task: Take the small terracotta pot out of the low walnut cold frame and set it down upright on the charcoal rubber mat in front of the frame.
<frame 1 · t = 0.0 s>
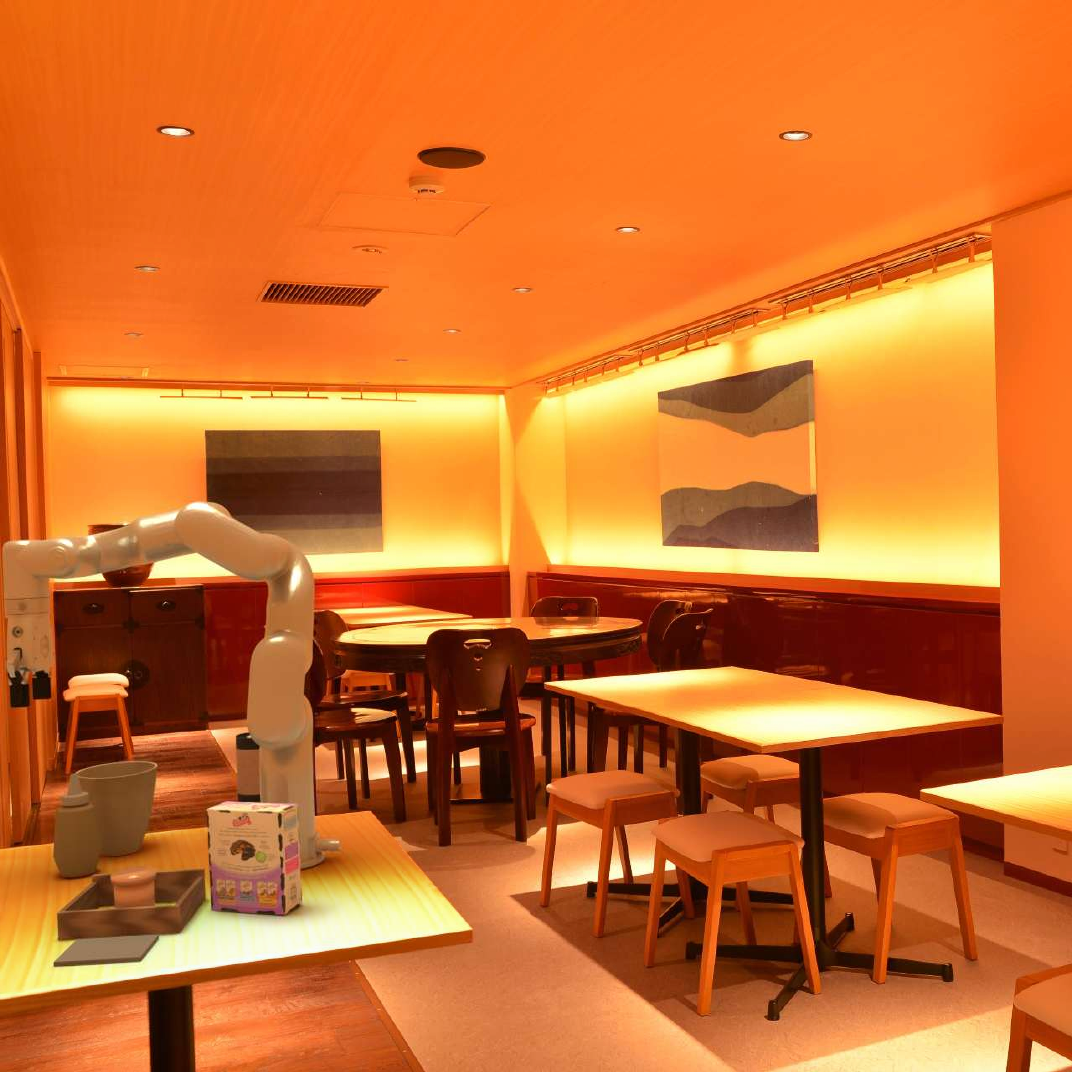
hand: (31, 703, 202), 31 cm above the table, fingers open, 9 cm apart
candy box: (256, 909, 179), on the table
cold frame: (135, 918, 177), on the table
travel mug: (258, 834, 226), on the table
mat: (107, 952, 162), on the table
squeeze bottle: (78, 874, 203), on the table
plant pot: (120, 852, 217), on the table
terracotta pot: (134, 895, 177), in the cold frame
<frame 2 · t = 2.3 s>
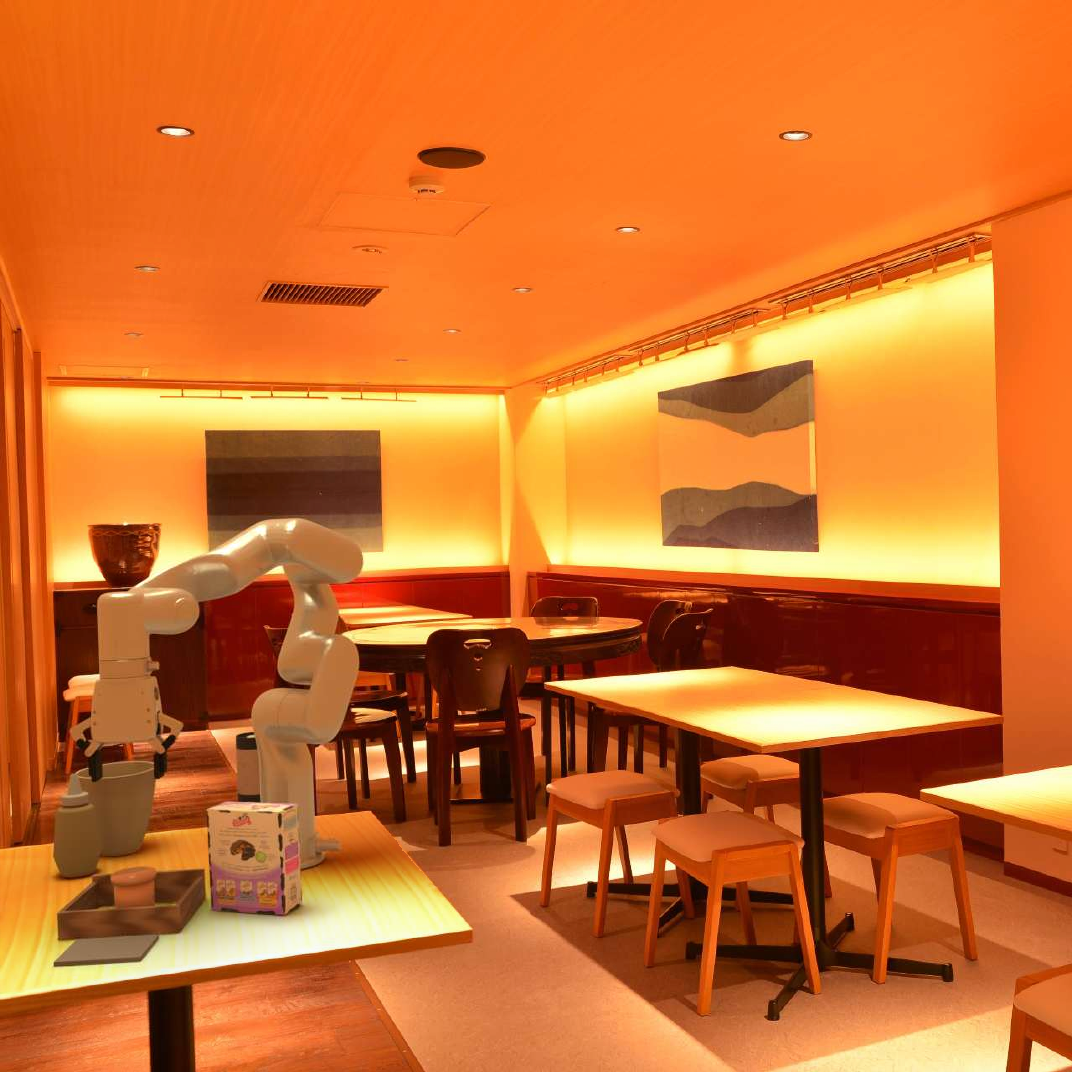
hand: (128, 778, 176), 22 cm above the table, fingers open, 9 cm apart
nothing on the table moved.
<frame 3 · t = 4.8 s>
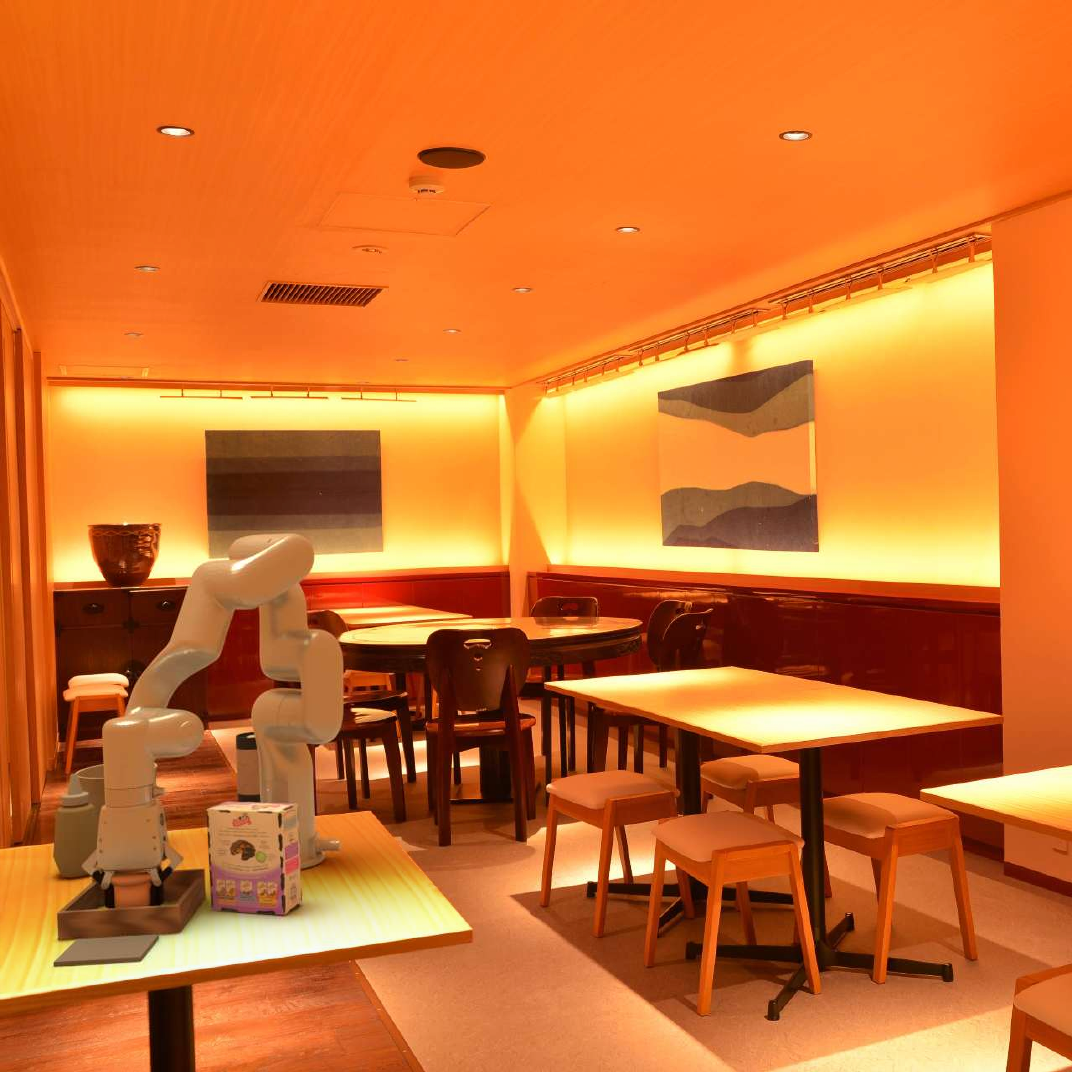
hand: (134, 909, 176), 1 cm above the table, fingers closed on terracotta pot, 6 cm apart
terracotta pot: (134, 895, 177), in the cold frame, touching gripper
everything else where it was.
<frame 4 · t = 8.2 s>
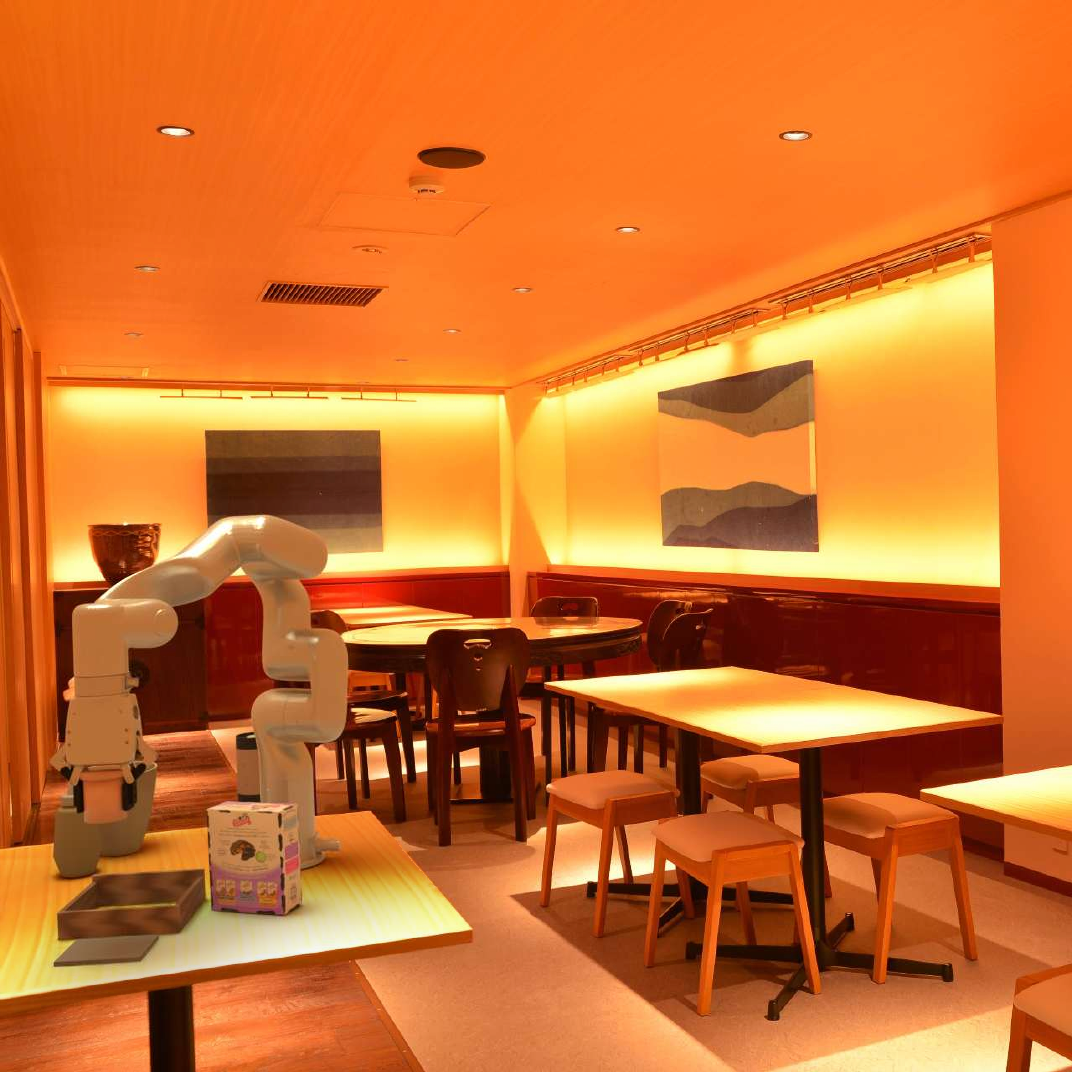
hand: (105, 808, 164), 20 cm above the table, fingers closed on terracotta pot, 6 cm apart
terracotta pot: (105, 794, 164), point 22 cm above the table, touching gripper
everything else where it was.
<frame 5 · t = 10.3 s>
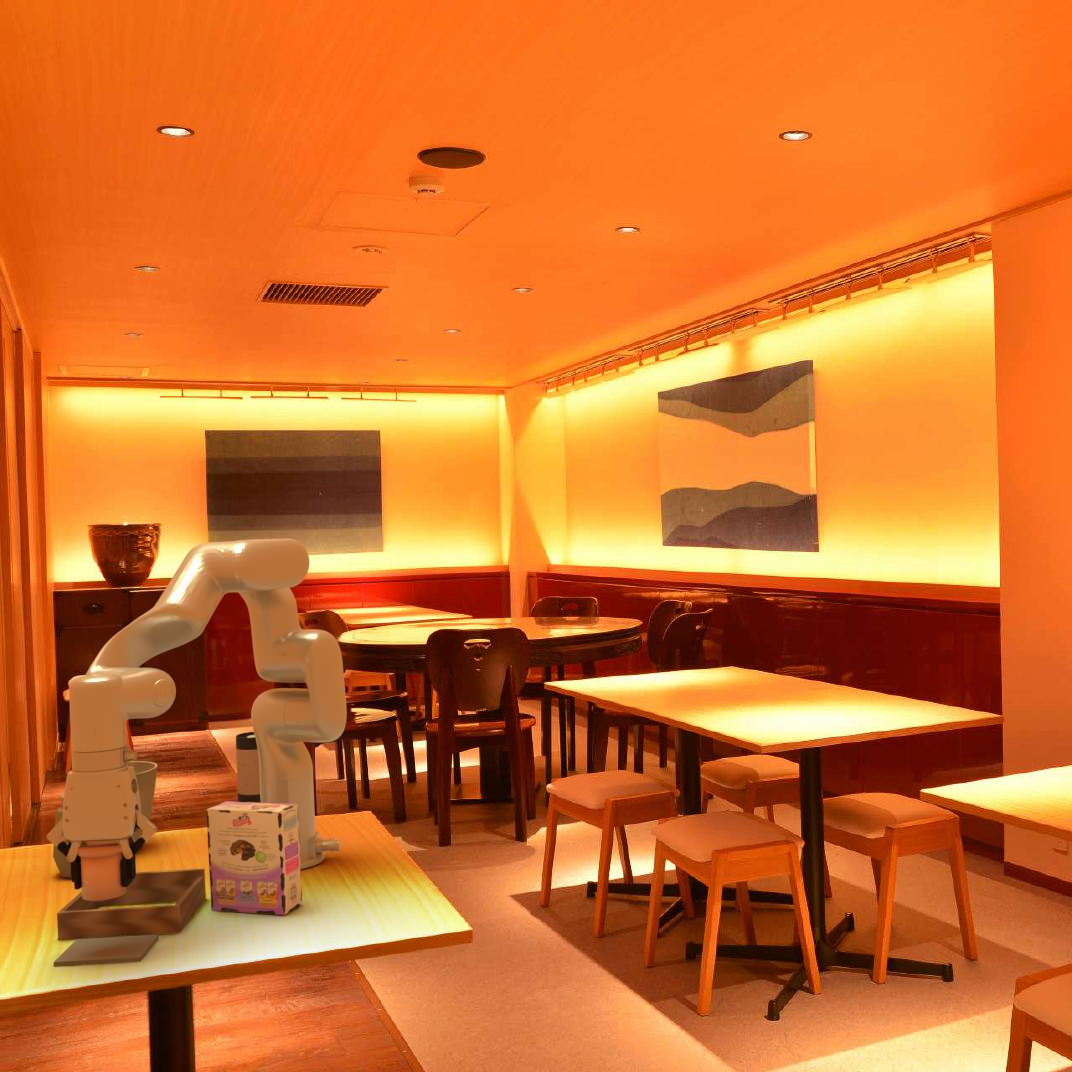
hand: (104, 884, 162), 10 cm above the table, fingers closed on terracotta pot, 6 cm apart
terracotta pot: (103, 869, 162), point 12 cm above the table, touching gripper
everything else where it was.
when the fingers open (3 cm above the table, at t = 12.1 s): terracotta pot stays where it is, resting on mat.
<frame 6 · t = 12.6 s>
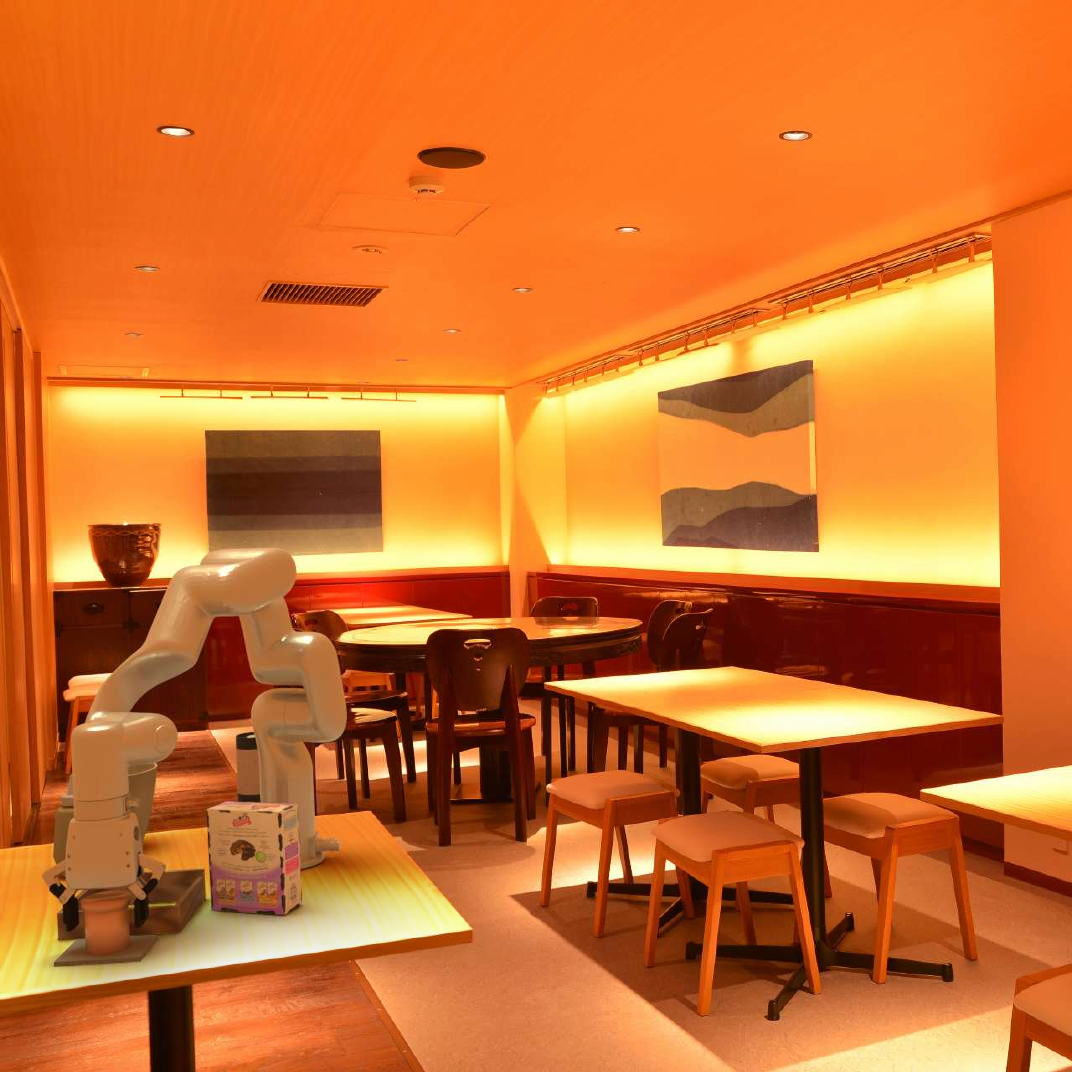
hand: (106, 926, 162), 4 cm above the table, fingers open, 9 cm apart
terracotta pot: (107, 922, 162), on the mat, point 4 cm above the table
everything else where it was.
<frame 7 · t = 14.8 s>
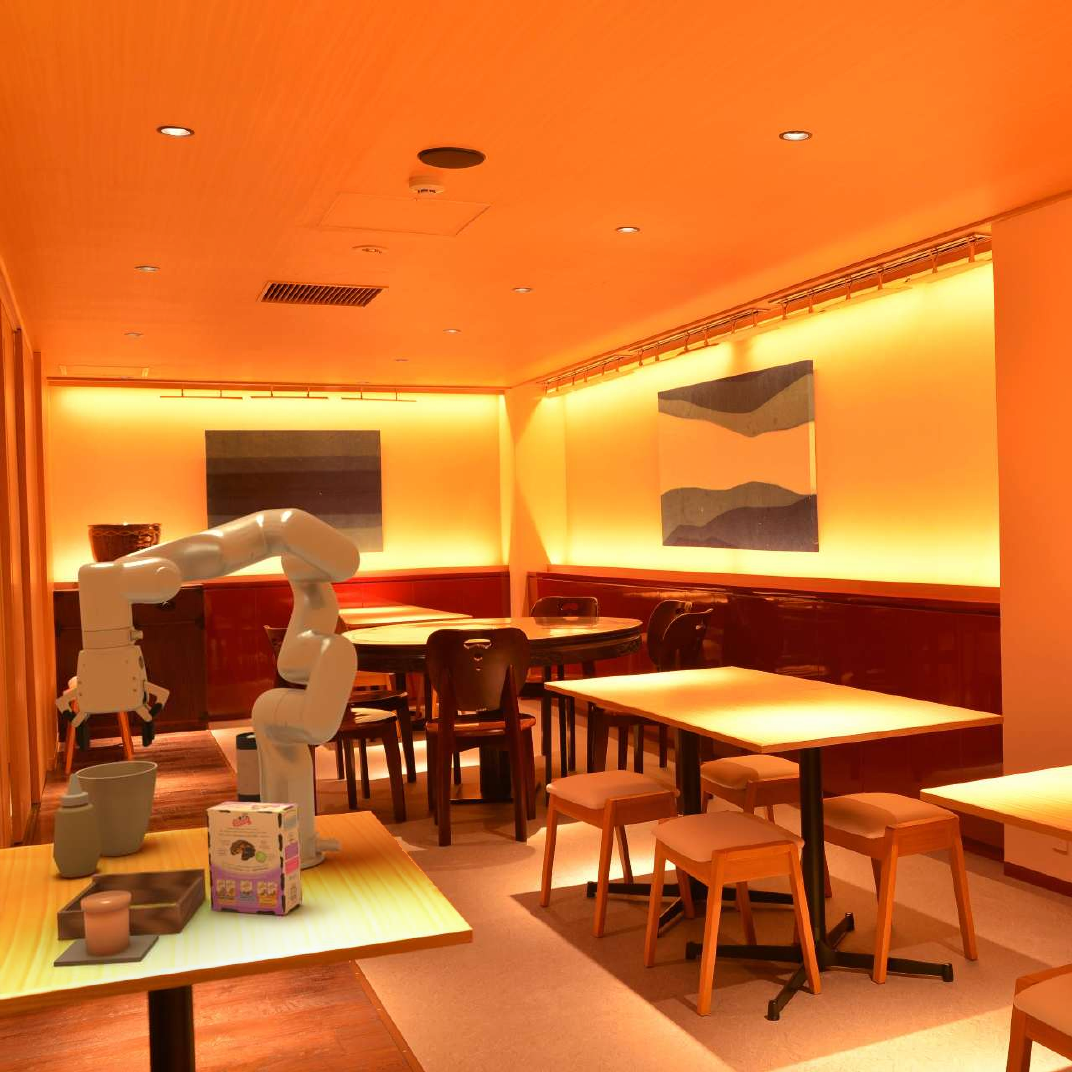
hand: (116, 747, 177), 27 cm above the table, fingers open, 9 cm apart
nothing on the table moved.
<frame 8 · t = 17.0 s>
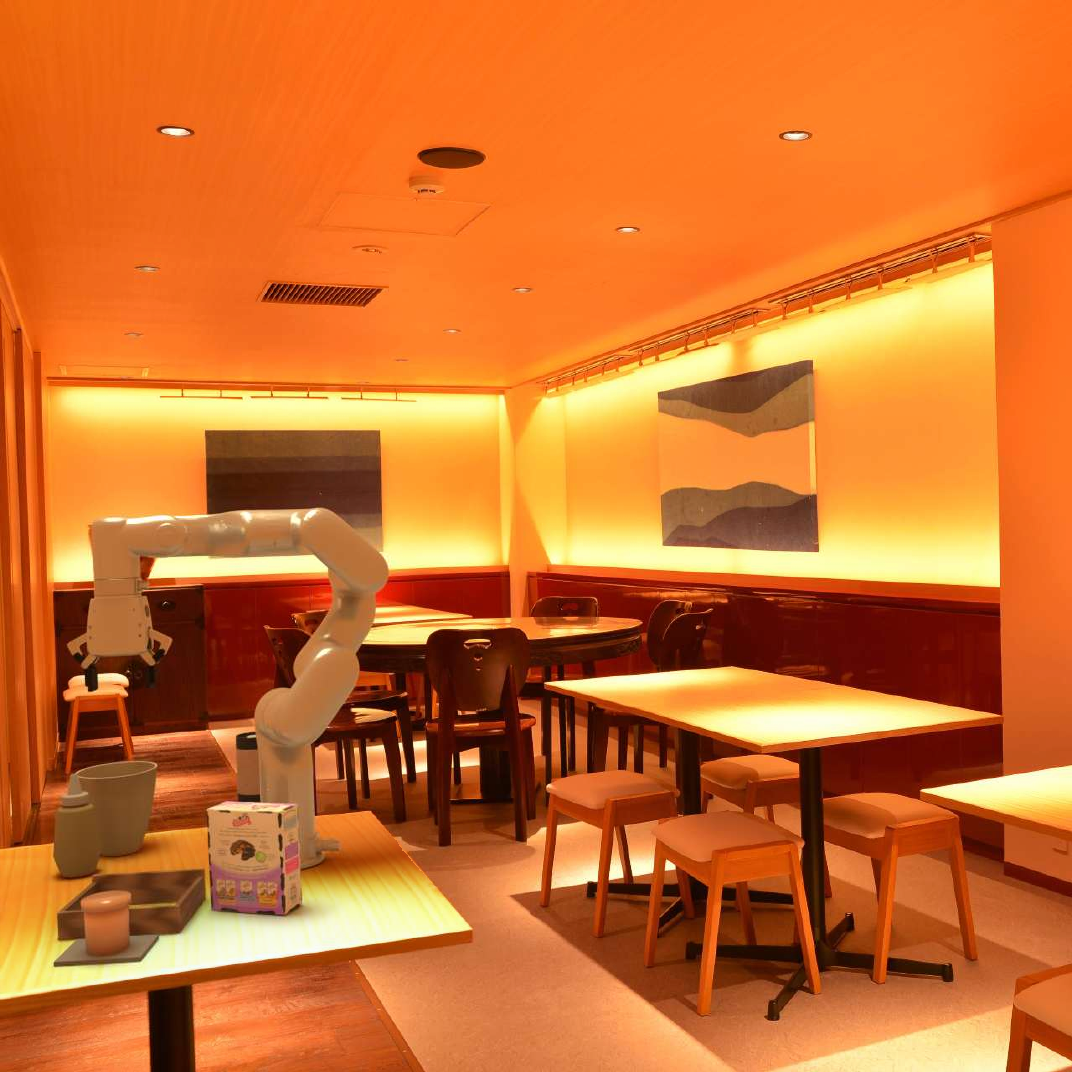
hand: (121, 689, 191), 34 cm above the table, fingers open, 9 cm apart
nothing on the table moved.
at the end: terracotta pot inside the target area on the mat (0.1 cm from its centre), point 4.2 cm above the mat's base; terracotta pot tilted 0°; the gripper is holding nothing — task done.
